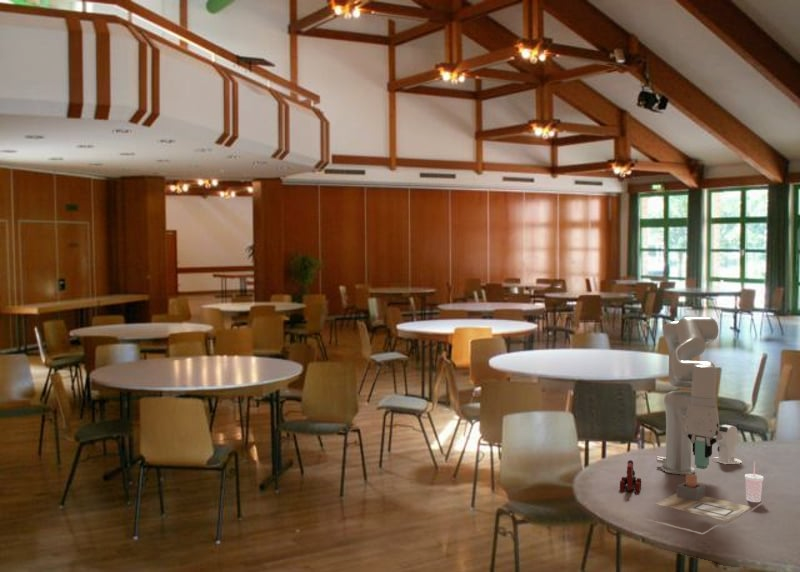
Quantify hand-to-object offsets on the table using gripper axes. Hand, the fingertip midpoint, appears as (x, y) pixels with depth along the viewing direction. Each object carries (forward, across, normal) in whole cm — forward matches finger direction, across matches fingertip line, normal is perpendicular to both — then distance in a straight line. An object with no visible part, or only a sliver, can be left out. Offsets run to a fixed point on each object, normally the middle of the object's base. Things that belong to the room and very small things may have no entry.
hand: (702, 455), depth 274 cm
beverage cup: (+19, +9, +21) cm, 29 cm away
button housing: (+18, -8, +8) cm, 21 cm away
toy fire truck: (+19, -27, +2) cm, 33 cm away
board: (+18, 0, +2) cm, 19 cm away
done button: (+15, -7, +8) cm, 19 cm away
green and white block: (+4, 0, 0) cm, 4 cm away
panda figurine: (+18, -20, +66) cm, 71 cm away
